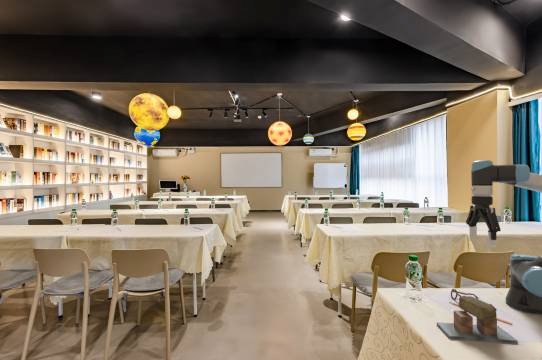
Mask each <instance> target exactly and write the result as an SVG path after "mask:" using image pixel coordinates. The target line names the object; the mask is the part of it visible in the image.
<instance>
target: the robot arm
mask: <svg viewBox="0 0 542 360" xmlns="http://www.w3.org/2000/svg"><path fill="white" fill-rule="evenodd" d="M470 174H471V175H470V176H471V179H470V180H471V188H470V190H471V205H470V206H469V211H468V212H469V213H468V216H467V219H466V222H465V223H466V225H468V227H469V242H478V229H477V228H478V226H477V224H478V222H479V220H480V219H483V221H484V222H485V225H486V226H487V229H488V231H487V248H492V249H493V248H494V249H495V248H497V234H498V232H501V227H500V223H499V221H498V217H497V213H496V208H495V207H490V206H492V205H493V204H494V200H493V199H494V197H493V195H494V186H493V183H499V184H506V185H508V186H513V187H518V188H521V189H526V190H530V191H532V192H533V191H534V192H537V193H541V194H542V174H538V173H536V172H531V170H530V167H529V165H528V164H519V163H518V164H494V162H493V161H492V160H483V159H482V160H474V161H472V163H471V172H470ZM509 266H510V267H509V269H510V277H509V278H510V281H509V282H510V283H509V284H510V287H509V288H508V289H509V290H508V291H507V293H506V296H505V304H506V305H507V306H509V307H511V308H513V309H515V310H518V311H522V312H526V313H529V314H536V315H542V255H540V256H535V255H529V254H528V255H527V254H526V255H525V254H511V255H510V260H509Z"/></svg>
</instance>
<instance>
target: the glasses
mask: <svg viewBox="0 0 542 360" xmlns="http://www.w3.org/2000/svg"><path fill="white" fill-rule="evenodd" d="M453 293H455V297H454V296H453ZM462 295H463V296H473V297H474V298H476V299H479V297H478V296H477V295H476V294H474V293H468V292H467V293H466V292H460V291H457V289H456V288H452V289H451V291H450V298H451V300H457V298H458V297H459V298H460V297H463V296H462ZM488 304H489V305H491V306H493V307H494V308H495V309H496V311H497V310H498V309H497V308H496V307H495V306H494V305H493V304H491V303H488Z"/></svg>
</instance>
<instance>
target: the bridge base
mask: <svg viewBox="0 0 542 360" xmlns="http://www.w3.org/2000/svg"><path fill="white" fill-rule="evenodd" d="M436 326H437V327H438V328H439V329H440V330H441V331H442V332H443V333H444V334H445V335H446V337H447V338H448V339H449V340H462V341H463V340H464V341H478V342H490V343H506V344H519V341H518V339H516V338H515V337H514V336H512V335H511V334H509V333H508V332H507V331H506V330H504V329H503V328H501V326H498V318H496V320H492V321H485V320H481V319H479V318H477V317H476V324H474V316H473V315H471V314H469V313H468V312H465V311H464V310H453V323H452V322H450V323H449V322H436Z"/></svg>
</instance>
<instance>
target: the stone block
mask: <svg viewBox="0 0 542 360" xmlns="http://www.w3.org/2000/svg"><path fill="white" fill-rule="evenodd" d="M458 298H459V301H458V307H459V308H460V309H461V311H465V312H467V313H468V314H469V315H471V316H472V317H475V318H476V319H477V318H479V319H481V320H485V321H492V320H496V318H497V310H496V309H497V308H496V307H495V306H494V305H493V306H494V307H495V308H496V309H495V308H494V307H493V306H491V305H489V304H490V303H488V302H487V303H486V302H485V301H483V300H481V299H479V298H476V297H475V296H472V295H463V297H460V296H459V297H458ZM497 319H498V318H497Z"/></svg>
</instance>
